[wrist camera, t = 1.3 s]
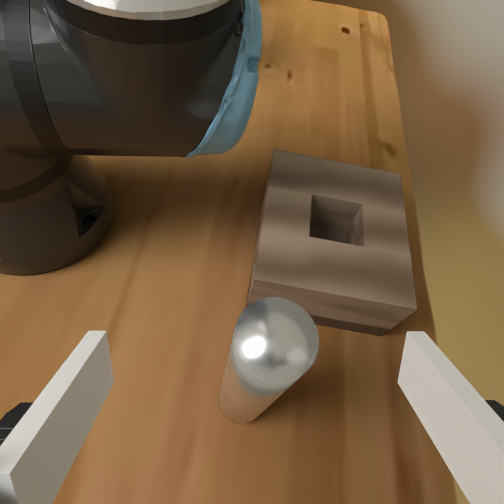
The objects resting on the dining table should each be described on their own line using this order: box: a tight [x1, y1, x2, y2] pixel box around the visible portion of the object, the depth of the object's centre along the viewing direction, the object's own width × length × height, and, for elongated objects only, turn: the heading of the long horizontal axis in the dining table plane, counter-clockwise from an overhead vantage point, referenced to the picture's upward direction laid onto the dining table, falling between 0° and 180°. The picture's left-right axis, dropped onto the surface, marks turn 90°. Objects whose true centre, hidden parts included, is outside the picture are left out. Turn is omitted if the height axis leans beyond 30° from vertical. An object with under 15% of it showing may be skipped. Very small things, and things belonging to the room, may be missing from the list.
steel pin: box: [218, 297, 319, 424], centre depth 24 cm, size 4×4×17 cm
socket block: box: [245, 149, 417, 336], centre depth 37 cm, size 16×14×7 cm
